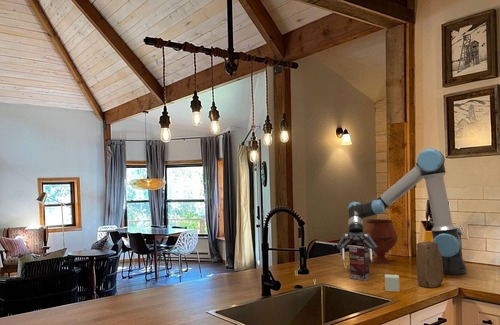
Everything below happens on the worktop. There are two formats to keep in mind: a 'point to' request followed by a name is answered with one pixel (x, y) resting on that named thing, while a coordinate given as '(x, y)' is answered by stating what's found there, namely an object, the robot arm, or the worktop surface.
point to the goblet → (381, 237)
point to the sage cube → (392, 283)
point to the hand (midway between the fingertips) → (357, 260)
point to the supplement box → (359, 262)
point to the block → (429, 264)
